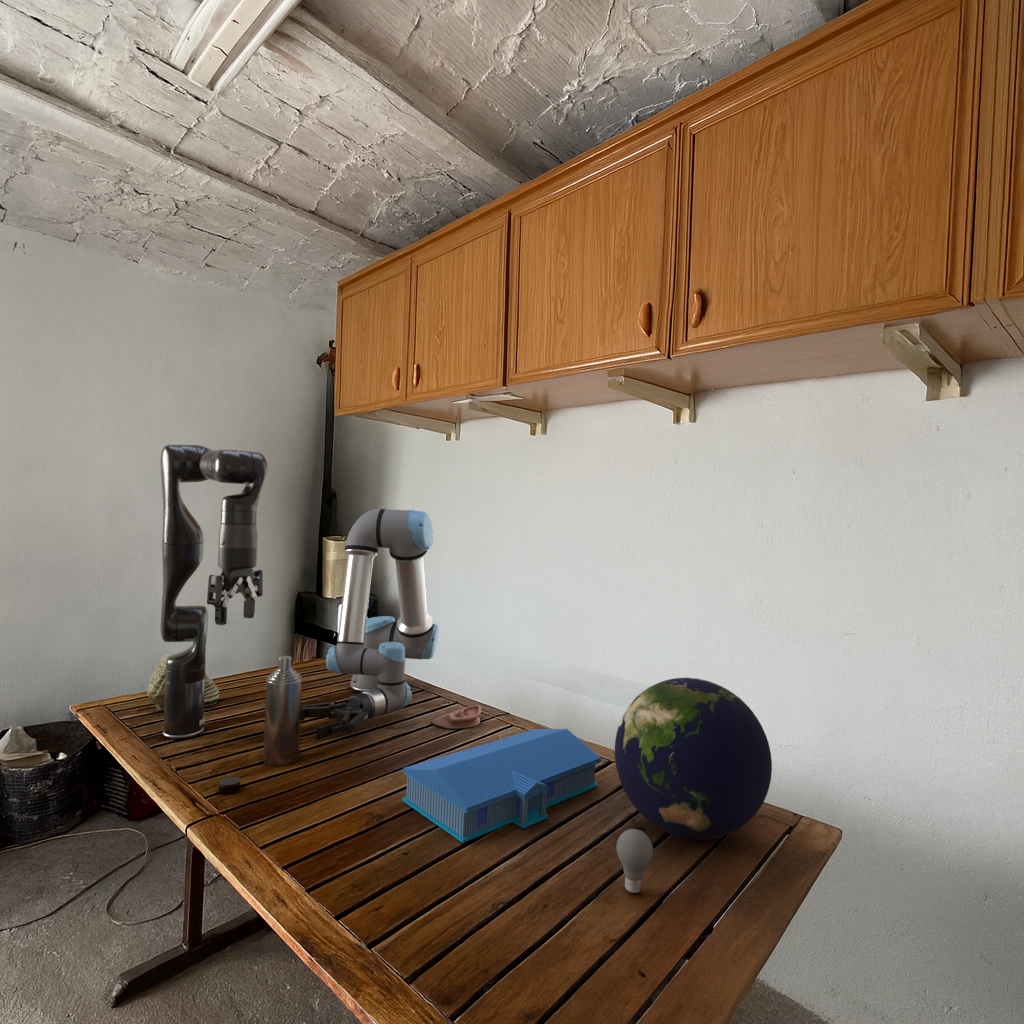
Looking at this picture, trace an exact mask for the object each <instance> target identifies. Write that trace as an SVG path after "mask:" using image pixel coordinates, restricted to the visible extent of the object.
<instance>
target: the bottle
mask: <svg viewBox="0 0 1024 1024" xmlns="http://www.w3.org/2000/svg"><path fill="white" fill-rule="evenodd" d="M292 659H293V657H292V656H291V655H281V656H279V657H278V668H276V669H275V670H274V671H273V672H272V673H270V674H269V675H268V676H267V678H266V681H265V704H264V705H265V706H264V707H265V708H264V730H263V731H264V736H263V759H262V760H263V763H264V764H265V765H268V766H277V767H280V766H287V765H290V764H293V763H295V762H297V761H298V760H299V759H300V742H301V722H302V721H301V705H302V691H303V690H302V689H303V677H302V675H301V674H300V673H299V672H298V671H296V670H295V669H294V668H293V666H292Z"/></svg>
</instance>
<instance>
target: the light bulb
mask: <svg viewBox="0 0 1024 1024" xmlns="http://www.w3.org/2000/svg"><path fill="white" fill-rule="evenodd" d="M615 849H616V854H617V857H618V859H619V861H620V863H621V865H622V867H623V873H624V874H623V875H624V876H625V878H624V888H625V890H627V891H628V892H630V893H634V894H635V893H639V892H640V891H641V889H642V887H641V886H642V879H643V877H644V875H645V871H646V868H647V867H648V866H649V864H650V863H651V861H652V859H653V855H654V847H653V843H652V841H651V838H649V836H648V835H647V834H646V833H645V832H643V831H642V830H641V829H636V828H629V829H627V830H625V831H623V832H622V833H621V834H620V835H619V837H618V839H617V841H616V847H615Z"/></svg>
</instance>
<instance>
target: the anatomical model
mask: <svg viewBox="0 0 1024 1024" xmlns="http://www.w3.org/2000/svg"><path fill="white" fill-rule="evenodd" d="M481 714H482V707H481V706H480V705H478V704H475V705H471V706H467V707H463V708H460V709H457V710H454V711H452V712H448V713H445V714H442V715H439V716H437V717H435V718H434V719H432V720H431V723H432V725H435V726H438V727H441V728H445V729H466V728H467V729H468V728H472V727H476V726H478V725H480V724H481V718H480V716H481Z"/></svg>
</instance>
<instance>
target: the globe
mask: <svg viewBox="0 0 1024 1024" xmlns="http://www.w3.org/2000/svg"><path fill="white" fill-rule="evenodd" d="M767 737H768V736H767V734H766V732H765V730H764V728H763V726H762V724H761V722H760V721H759V718H758V717H757V716H756V715H755V713H754V712H753V710H752V709H751V708H750V706H749V705H748V704H747V703H746V702H745V701H743V699H741V698H740V697H739V696H738V695H736V694H735V693H734V692H733V691H731V690H729V689H727V688H726V687H724V686H722V685H720V684H718V683H716V682H712V681H710V680H706V679H701V678H698V677H690V676H689V677H675V678H669V679H666V680H663V681H660V682H657V683H655V684H653V685H651V686H649V687H647V688H646V689H645V690H643V691H642V692H640V693H639V694H638V695H637V696H636V697H635V698H634V699H632V701H631V702H630V704H628V706H627V708H626V710H624V713H623V714H622V716H621V719H620V720H619V723H618V726H617V730H616V734H615V741H614V762H615V768H616V772H617V776H618V779H619V782H620V784H621V786H622V788H623V791H624V793H625V795H626V796H627V798H628V799H629V801H630V802H631V805H633V807H634V808H635V809H636V811H638V812H639V813H640V815H642V817H644V818H645V819H646V820H647V821H648V822H649V823H651V824H652V825H654V826H655V827H656V828H658V829H660V830H662V831H664V832H666V833H668V834H670V835H673V836H674V837H679V838H682V839H687V840H695V841H709V840H716V839H720V838H722V837H726V836H728V835H731V834H733V833H735V832H737V831H739V830H740V829H742V828H743V827H744V826H745V825H747V824H748V823H749V822H750V821H751V820H752V819H753V818H754V816H756V815H757V813H758V812H759V811H760V809H761V807H762V806H763V804H764V802H765V800H766V798H767V795H768V793H769V790H770V786H771V781H772V774H773V762H772V760H773V759H772V752H771V748H770V744H769V740H768V738H767Z"/></svg>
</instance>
